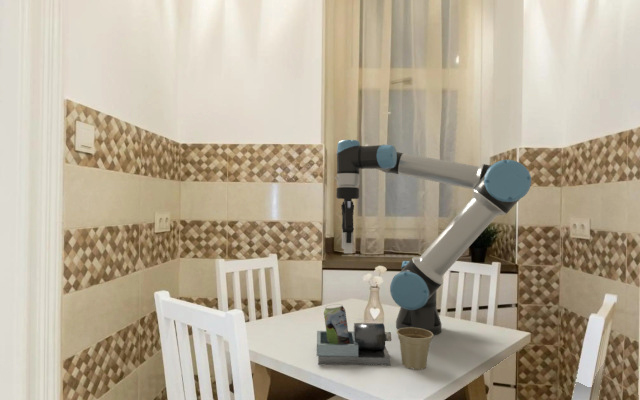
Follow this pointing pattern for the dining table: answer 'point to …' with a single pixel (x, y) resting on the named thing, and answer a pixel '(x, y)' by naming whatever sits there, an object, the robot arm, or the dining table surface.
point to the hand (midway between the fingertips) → (347, 251)
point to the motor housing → (356, 347)
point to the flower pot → (414, 346)
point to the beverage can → (336, 324)
